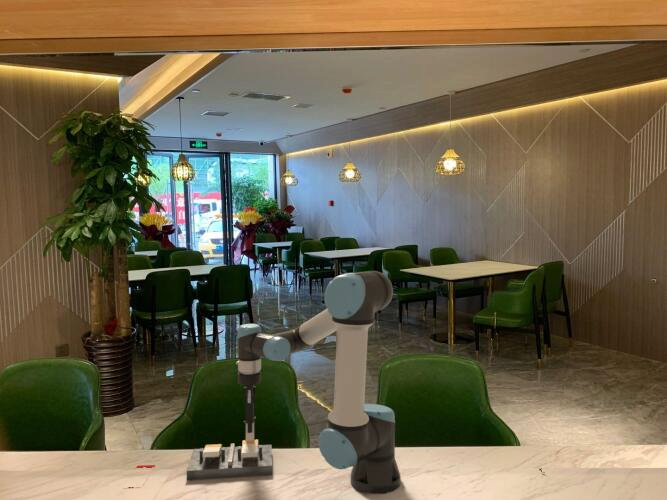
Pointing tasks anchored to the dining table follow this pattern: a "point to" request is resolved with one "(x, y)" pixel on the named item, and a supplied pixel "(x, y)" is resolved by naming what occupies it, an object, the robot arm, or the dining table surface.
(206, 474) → the breaker box
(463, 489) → the dining table surface
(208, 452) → the breaker left
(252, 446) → the breaker right
